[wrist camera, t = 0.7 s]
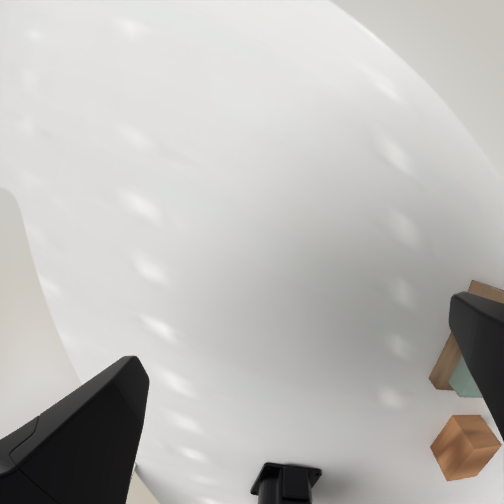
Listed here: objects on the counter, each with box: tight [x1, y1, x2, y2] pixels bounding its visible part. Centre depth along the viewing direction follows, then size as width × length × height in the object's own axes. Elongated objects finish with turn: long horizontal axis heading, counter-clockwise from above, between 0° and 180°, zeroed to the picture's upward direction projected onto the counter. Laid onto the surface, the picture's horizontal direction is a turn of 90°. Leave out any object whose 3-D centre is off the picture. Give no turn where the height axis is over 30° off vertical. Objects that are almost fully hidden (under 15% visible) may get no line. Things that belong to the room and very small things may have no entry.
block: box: [430, 415, 502, 481], centre depth 23 cm, size 5×5×6 cm
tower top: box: [448, 356, 483, 398], centre depth 20 cm, size 8×8×2 cm
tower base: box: [429, 280, 504, 391], centre depth 22 cm, size 10×10×2 cm
